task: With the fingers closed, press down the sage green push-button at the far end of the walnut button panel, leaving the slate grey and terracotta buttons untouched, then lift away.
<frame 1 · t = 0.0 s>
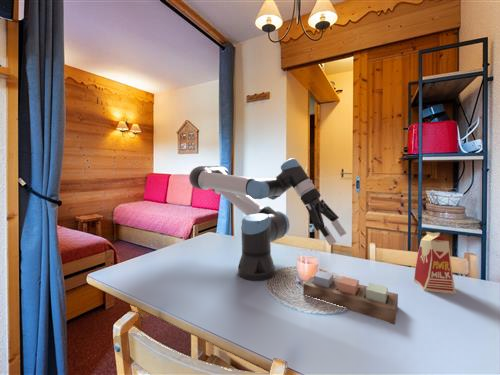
hand: (338, 239, 90), 15 cm above the table, tool tilted 35°, fingers open, 13 cm apart
terracotta button: (348, 288, 75), point 4 cm above the table, slide at 0.0 cm
button panel: (348, 300, 76), on the table
milk carton: (432, 286, 85), on the table
slate button: (323, 281, 80), point 4 cm above the table, slide at 0.0 cm
sage button: (376, 295, 71), point 4 cm above the table, slide at 0.0 cm
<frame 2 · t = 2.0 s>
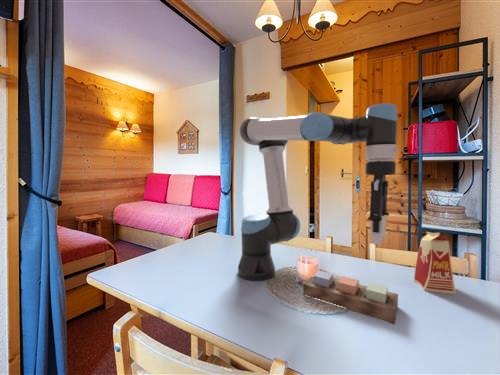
hand: (378, 239, 70), 21 cm above the table, tool pointing down, fingers open, 7 cm apart
nothing on the table moved.
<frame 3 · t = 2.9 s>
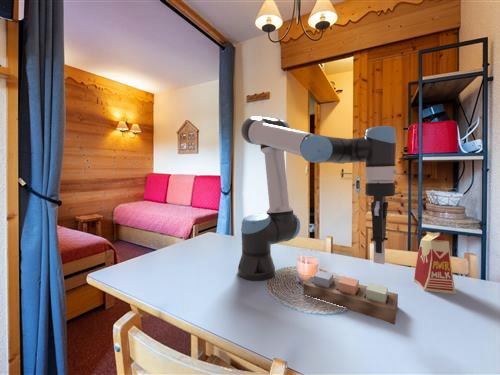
hand: (379, 262, 70), 14 cm above the table, tool pointing down, fingers closed
nothing on the table moved.
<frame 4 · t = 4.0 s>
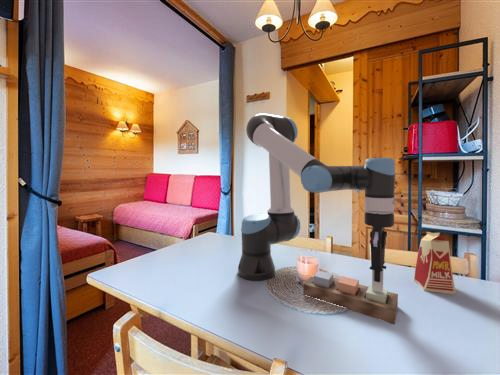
hand: (377, 290, 70), 6 cm above the table, tool pointing down, fingers closed
sage button: (376, 298, 71), point 3 cm above the table, slide at 0.9 cm, touching gripper
everything else where it was.
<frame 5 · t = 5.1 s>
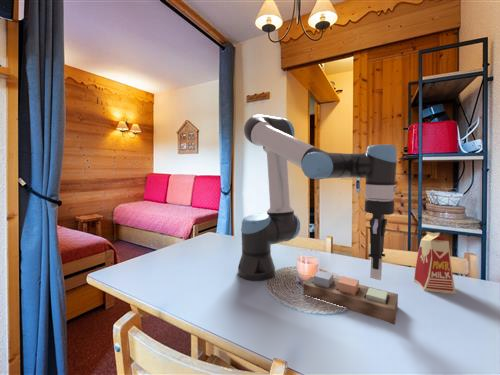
hand: (375, 278, 71), 9 cm above the table, tool pointing down, fingers closed
sage button: (376, 300, 71), point 3 cm above the table, slide at 1.5 cm
everything else where it was.
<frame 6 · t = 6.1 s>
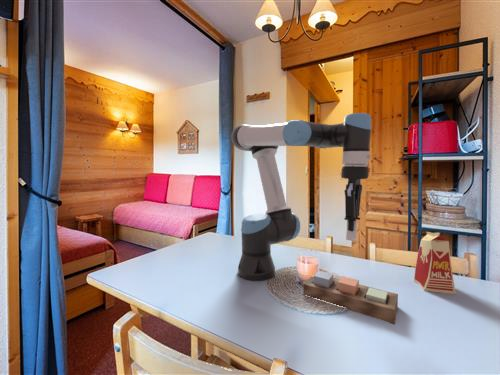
hand: (351, 239, 76), 19 cm above the table, tool pointing down, fingers closed
nothing on the table moved.
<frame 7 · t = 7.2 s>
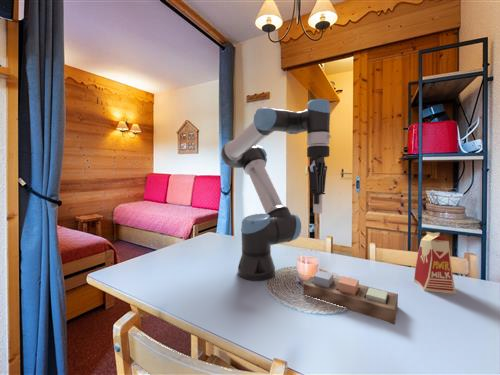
hand: (317, 212, 85), 26 cm above the table, tool pointing down, fingers closed
nothing on the table moved.
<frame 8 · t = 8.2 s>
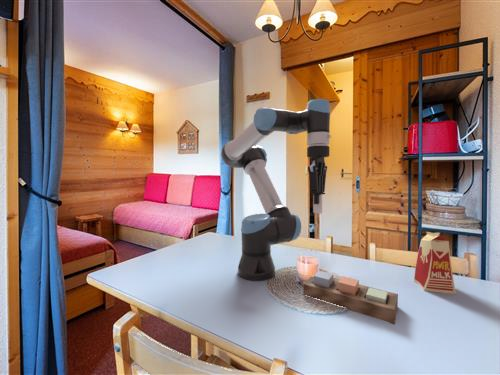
hand: (317, 212, 85), 26 cm above the table, tool pointing down, fingers closed
nothing on the table moved.
at the end: sage button slide at 1.5 cm; slate button slide at 0.0 cm; terracotta button slide at 0.0 cm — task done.
